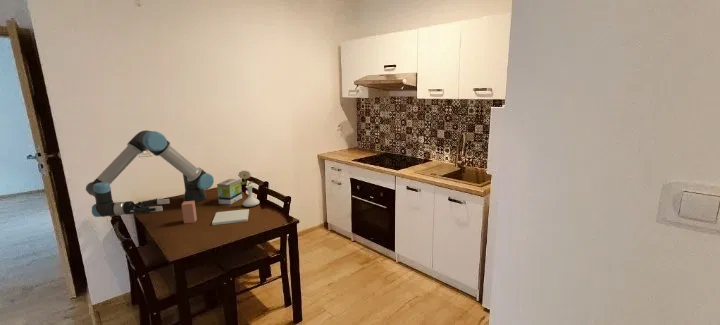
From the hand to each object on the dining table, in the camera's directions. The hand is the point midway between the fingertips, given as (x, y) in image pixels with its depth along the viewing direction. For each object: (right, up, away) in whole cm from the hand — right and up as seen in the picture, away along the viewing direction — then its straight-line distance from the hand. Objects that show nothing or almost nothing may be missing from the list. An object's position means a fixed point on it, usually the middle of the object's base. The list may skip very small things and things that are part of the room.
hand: (165, 204), depth 198 cm
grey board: (+35, -10, +10) cm, 38 cm away
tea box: (+22, -3, +42) cm, 48 cm away
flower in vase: (+40, -5, +33) cm, 52 cm away
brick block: (+12, -11, +6) cm, 17 cm away
